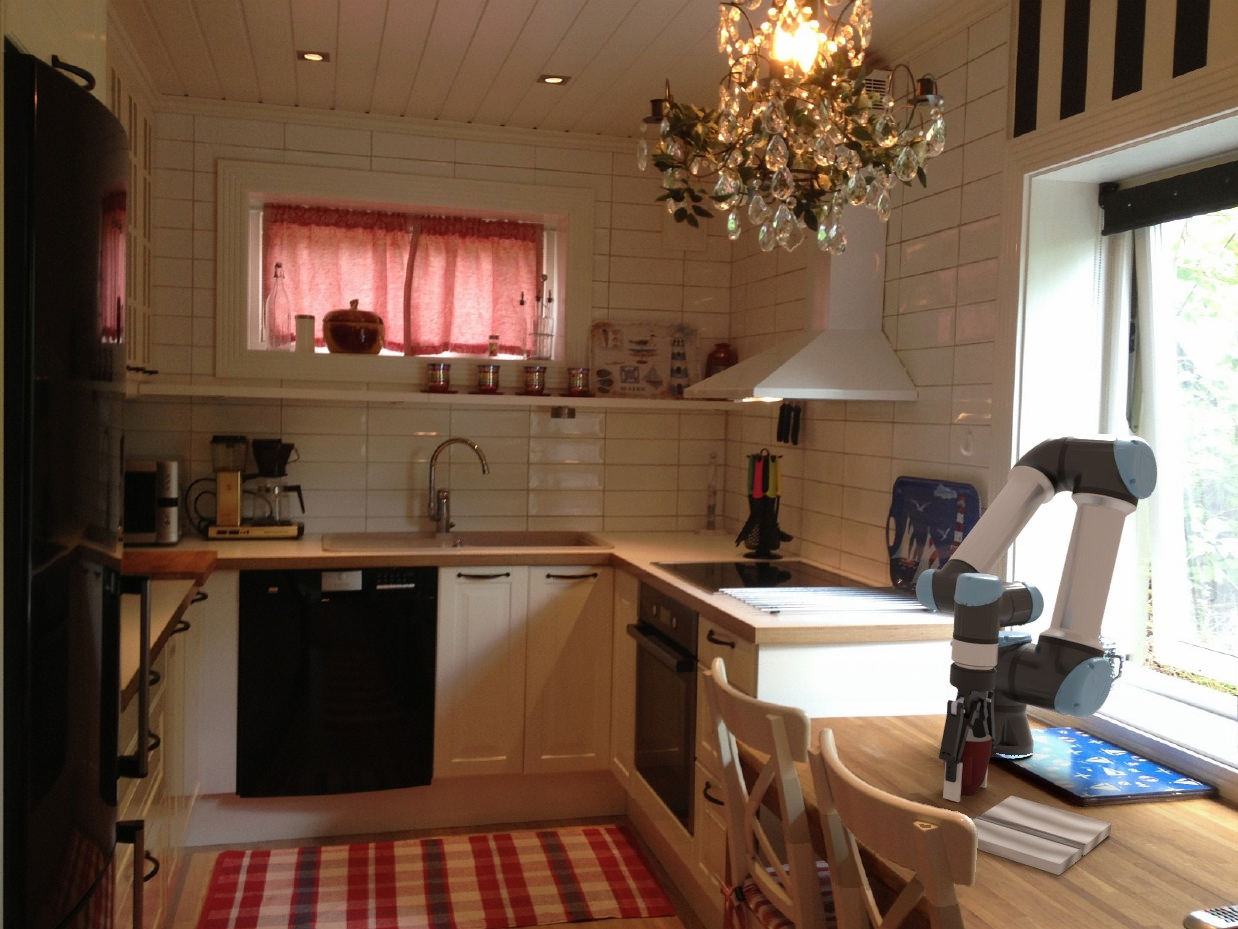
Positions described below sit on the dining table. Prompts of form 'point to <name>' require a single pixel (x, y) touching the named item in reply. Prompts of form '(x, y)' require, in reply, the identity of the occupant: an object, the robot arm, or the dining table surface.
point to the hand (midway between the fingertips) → (965, 792)
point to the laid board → (1026, 846)
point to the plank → (1050, 822)
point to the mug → (974, 762)
